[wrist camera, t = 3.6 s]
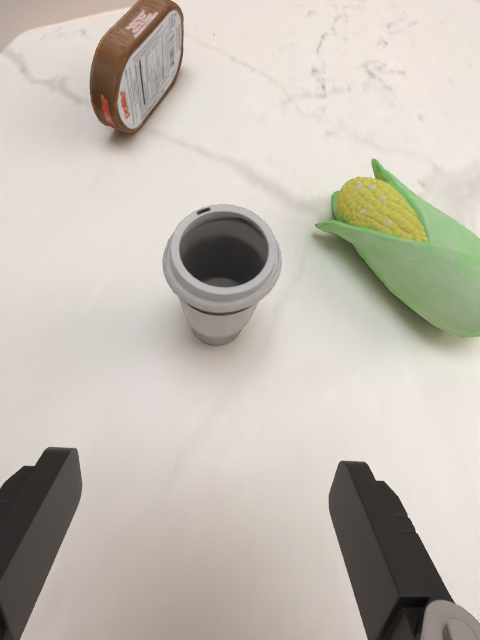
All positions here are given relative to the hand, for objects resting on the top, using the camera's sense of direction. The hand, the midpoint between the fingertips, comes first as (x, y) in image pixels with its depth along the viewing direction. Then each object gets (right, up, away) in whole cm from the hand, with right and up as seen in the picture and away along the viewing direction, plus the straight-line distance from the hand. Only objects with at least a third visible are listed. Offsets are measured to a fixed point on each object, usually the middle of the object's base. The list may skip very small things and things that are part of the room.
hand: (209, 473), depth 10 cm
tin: (-9, +29, +28) cm, 41 cm away
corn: (+16, +10, +23) cm, 30 cm away
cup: (-1, +5, +19) cm, 20 cm away
